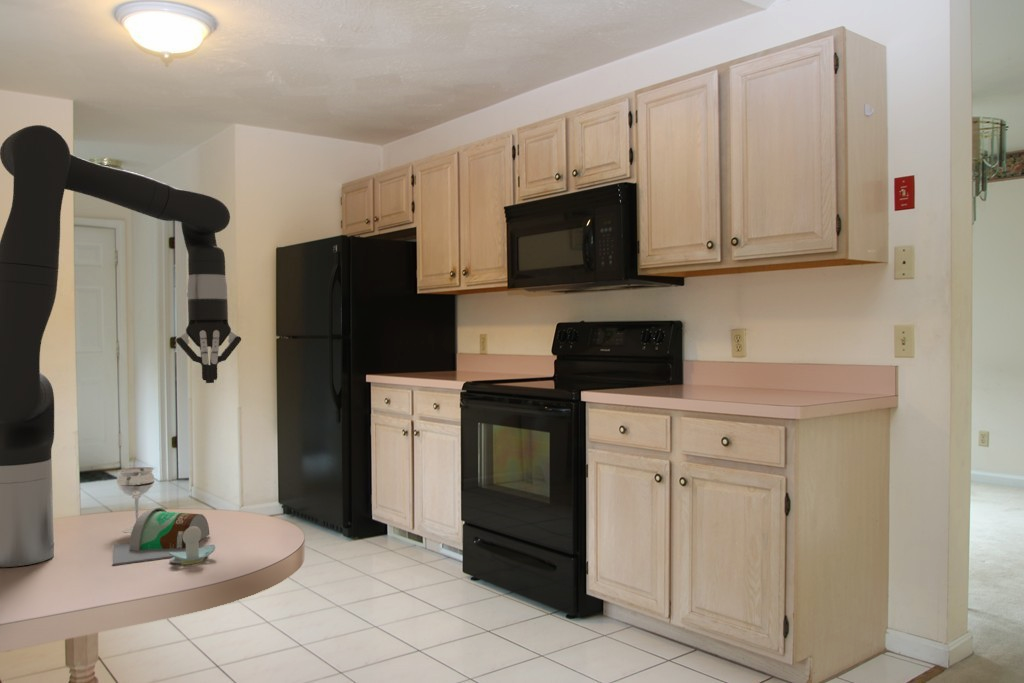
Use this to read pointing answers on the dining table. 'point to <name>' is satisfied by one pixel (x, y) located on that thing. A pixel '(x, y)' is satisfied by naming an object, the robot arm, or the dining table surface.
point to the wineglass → (135, 484)
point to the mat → (140, 554)
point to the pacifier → (192, 548)
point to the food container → (164, 529)
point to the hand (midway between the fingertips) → (210, 382)
